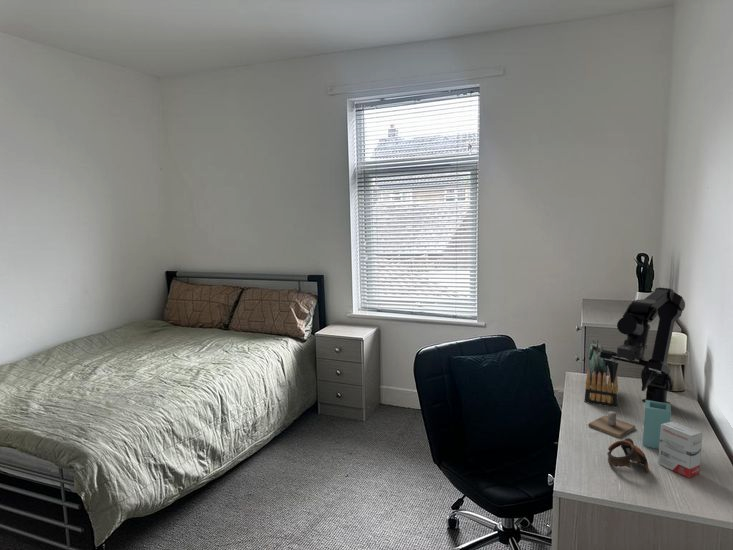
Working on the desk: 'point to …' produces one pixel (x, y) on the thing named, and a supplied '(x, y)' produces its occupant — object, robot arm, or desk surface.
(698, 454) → the ink box
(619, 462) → the brown ridged hollow part
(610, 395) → the ammunition clip
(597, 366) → the green lumpy upright piece
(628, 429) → the peg plate
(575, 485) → the desk surface
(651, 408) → the teal square planter
